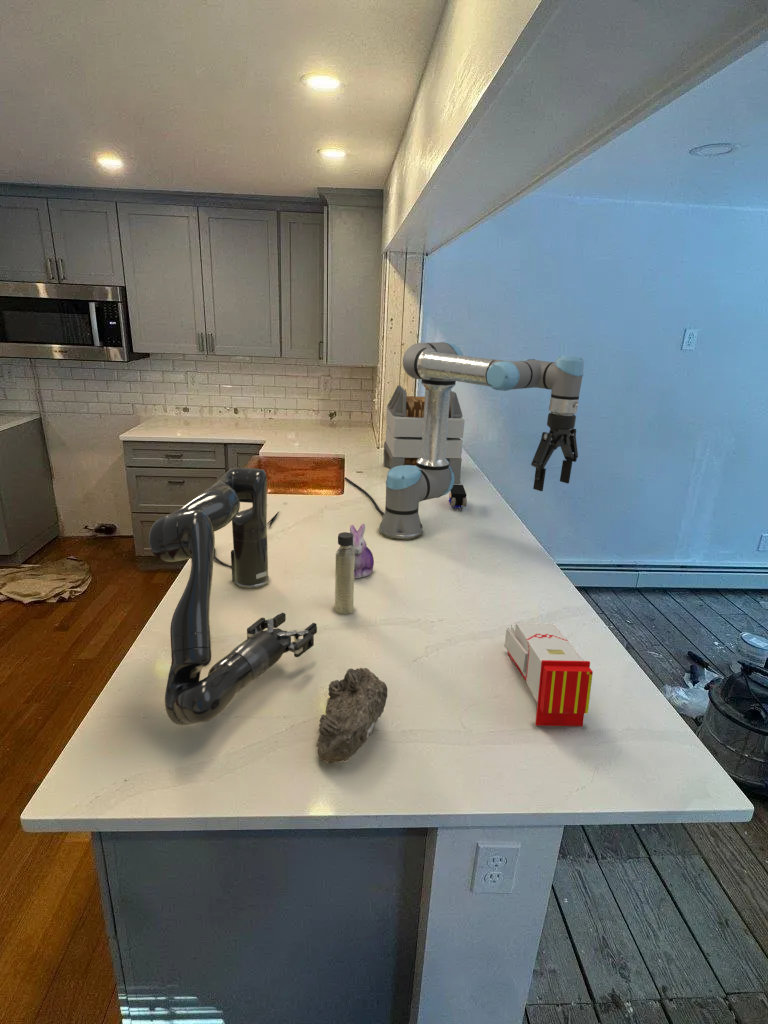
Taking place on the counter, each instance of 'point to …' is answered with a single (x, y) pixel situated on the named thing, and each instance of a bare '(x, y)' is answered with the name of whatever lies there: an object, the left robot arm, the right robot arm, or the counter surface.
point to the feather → (272, 520)
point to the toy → (551, 672)
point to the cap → (345, 539)
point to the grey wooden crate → (419, 431)
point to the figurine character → (457, 496)
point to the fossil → (350, 714)
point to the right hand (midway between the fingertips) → (551, 486)
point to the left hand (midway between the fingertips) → (299, 621)
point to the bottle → (344, 580)
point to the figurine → (361, 553)
